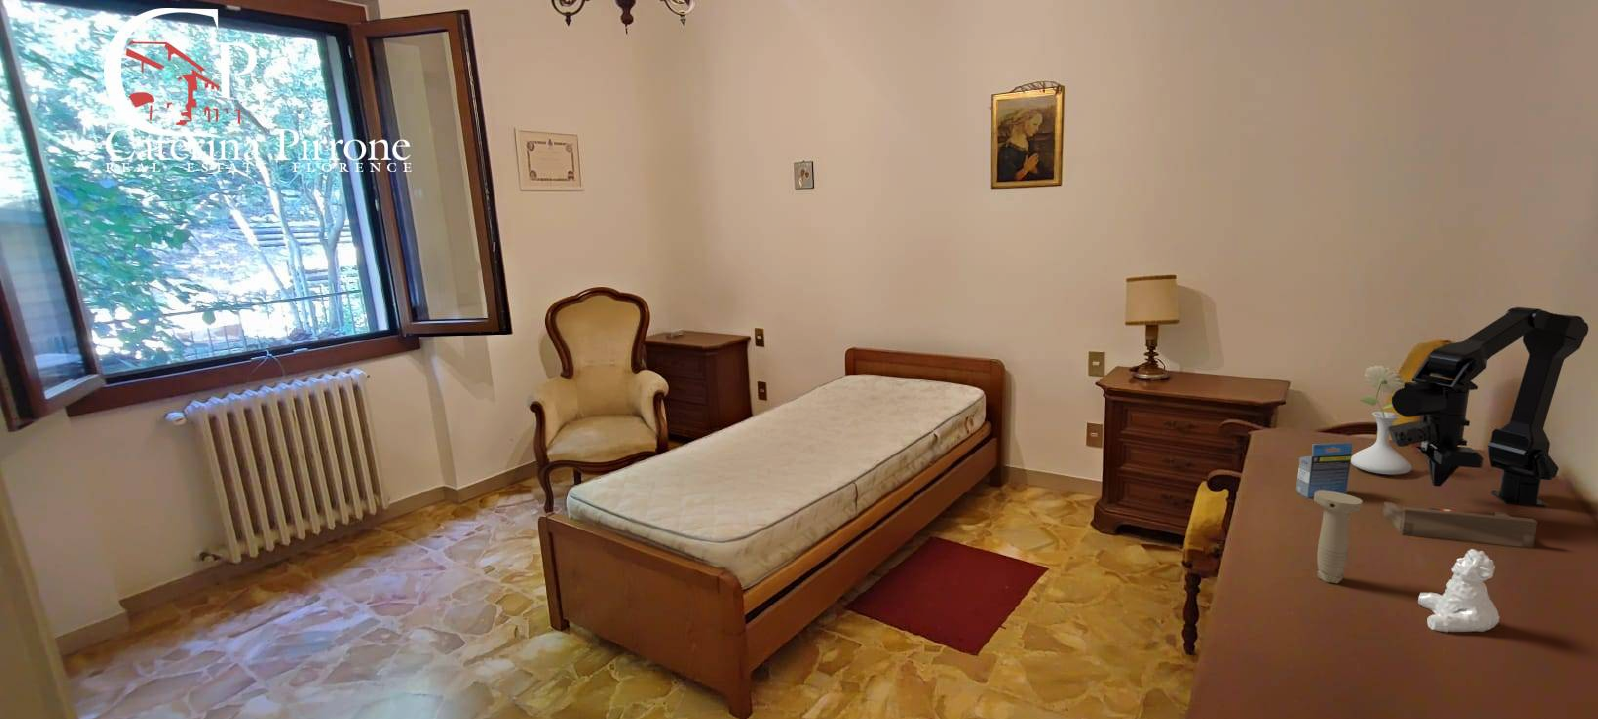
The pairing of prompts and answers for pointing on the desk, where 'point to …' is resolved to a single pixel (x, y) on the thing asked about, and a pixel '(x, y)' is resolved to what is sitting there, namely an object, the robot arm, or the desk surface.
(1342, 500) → the handle
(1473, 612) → the seated beast figurine
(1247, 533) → the desk surface
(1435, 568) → the desk surface
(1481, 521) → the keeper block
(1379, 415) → the flower in vase
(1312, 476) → the label tape box
